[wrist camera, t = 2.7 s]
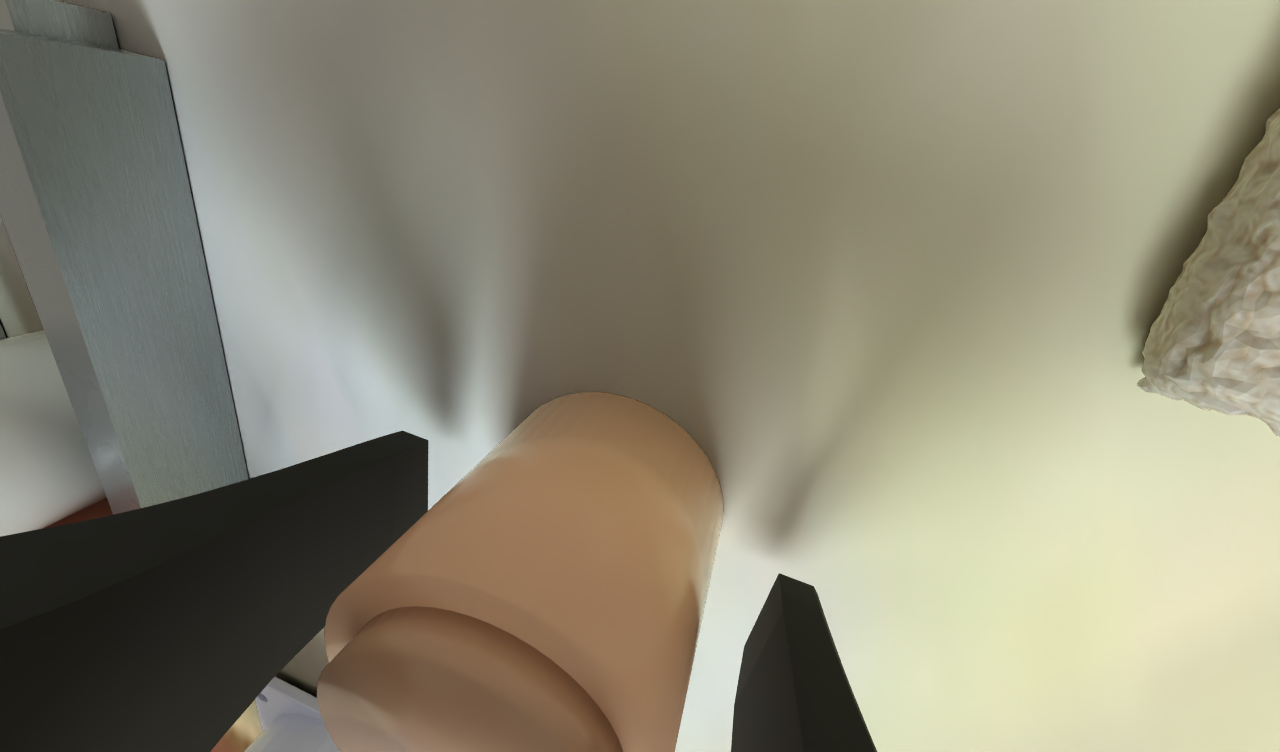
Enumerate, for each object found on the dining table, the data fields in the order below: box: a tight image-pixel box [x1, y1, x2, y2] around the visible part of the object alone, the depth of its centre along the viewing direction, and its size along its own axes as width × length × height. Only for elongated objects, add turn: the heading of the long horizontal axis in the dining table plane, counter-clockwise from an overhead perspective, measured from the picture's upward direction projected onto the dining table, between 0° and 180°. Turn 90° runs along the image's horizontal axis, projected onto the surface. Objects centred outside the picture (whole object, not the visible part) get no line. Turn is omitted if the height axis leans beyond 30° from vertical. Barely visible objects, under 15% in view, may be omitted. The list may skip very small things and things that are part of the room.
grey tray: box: [0, 0, 248, 515], centre depth 13 cm, size 17×10×2 cm, turn 167°
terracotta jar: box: [317, 392, 723, 752], centre depth 8 cm, size 5×5×6 cm
